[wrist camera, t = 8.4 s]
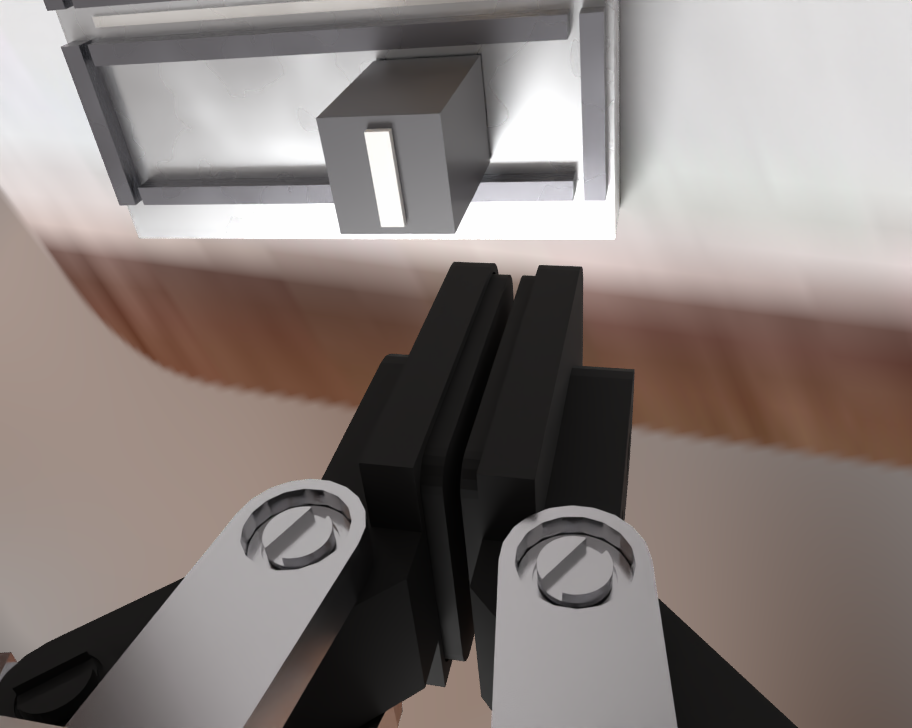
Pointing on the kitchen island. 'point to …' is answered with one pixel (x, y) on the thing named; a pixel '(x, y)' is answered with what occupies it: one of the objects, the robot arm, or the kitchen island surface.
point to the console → (318, 84)
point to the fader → (407, 145)
